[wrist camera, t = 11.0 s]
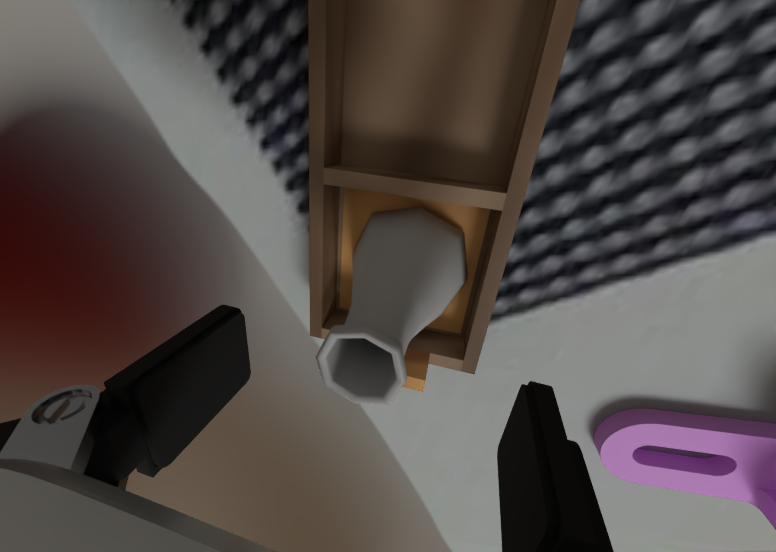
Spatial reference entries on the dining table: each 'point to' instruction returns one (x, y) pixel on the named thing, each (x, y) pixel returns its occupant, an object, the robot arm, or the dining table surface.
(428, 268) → the flask
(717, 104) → the dining table surface
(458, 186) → the divided wooden tray
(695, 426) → the bracket
